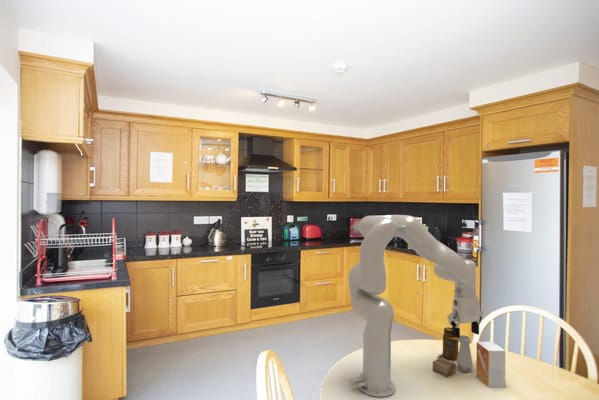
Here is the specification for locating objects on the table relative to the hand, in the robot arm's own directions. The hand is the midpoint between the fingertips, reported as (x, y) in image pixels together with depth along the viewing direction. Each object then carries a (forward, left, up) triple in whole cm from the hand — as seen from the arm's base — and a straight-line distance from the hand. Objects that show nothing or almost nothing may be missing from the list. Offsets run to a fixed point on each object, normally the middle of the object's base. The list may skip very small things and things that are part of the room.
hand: (465, 335), depth 135 cm
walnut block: (-10, +1, -14) cm, 17 cm away
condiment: (+1, +10, -14) cm, 17 cm away
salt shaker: (-1, 0, -14) cm, 14 cm away
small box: (+1, -10, -14) cm, 17 cm away
